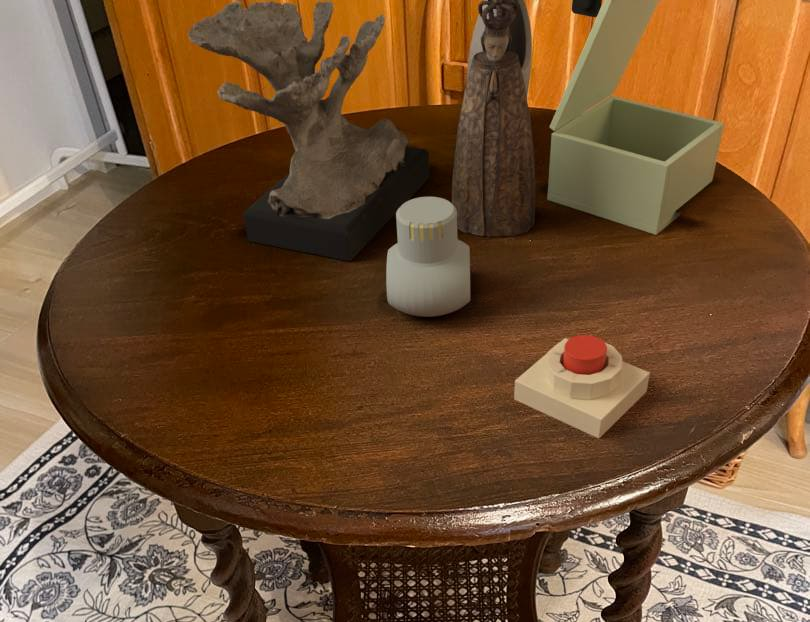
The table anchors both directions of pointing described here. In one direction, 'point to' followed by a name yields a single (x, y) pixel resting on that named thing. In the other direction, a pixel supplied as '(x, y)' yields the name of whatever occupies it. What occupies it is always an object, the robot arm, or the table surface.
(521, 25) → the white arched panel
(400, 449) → the table surface
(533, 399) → the control block
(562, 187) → the chest
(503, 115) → the statue
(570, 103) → the lid
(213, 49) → the coral
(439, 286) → the air freshener
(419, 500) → the table surface
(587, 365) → the button
